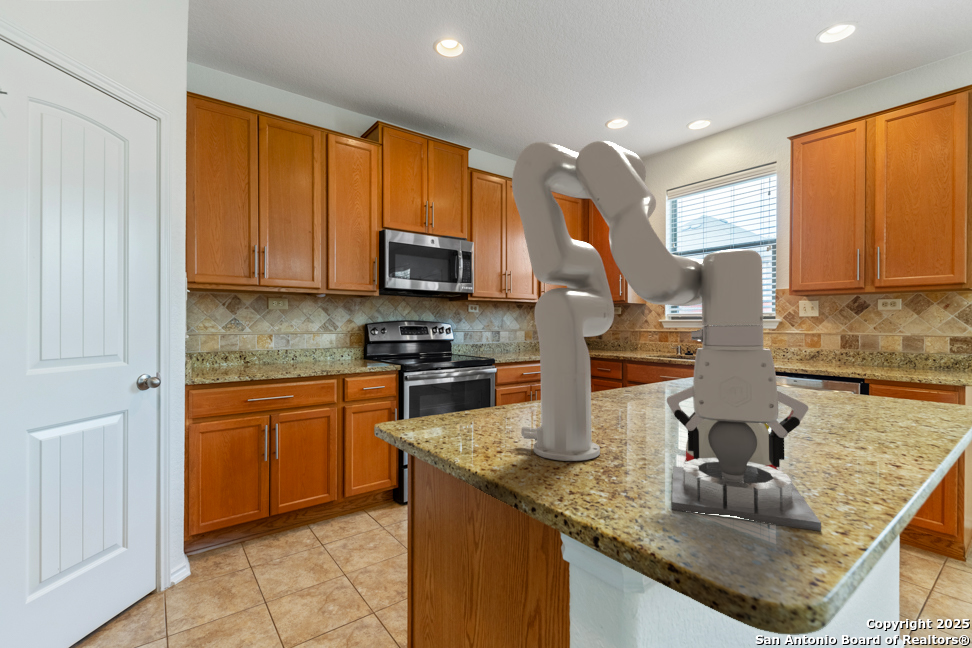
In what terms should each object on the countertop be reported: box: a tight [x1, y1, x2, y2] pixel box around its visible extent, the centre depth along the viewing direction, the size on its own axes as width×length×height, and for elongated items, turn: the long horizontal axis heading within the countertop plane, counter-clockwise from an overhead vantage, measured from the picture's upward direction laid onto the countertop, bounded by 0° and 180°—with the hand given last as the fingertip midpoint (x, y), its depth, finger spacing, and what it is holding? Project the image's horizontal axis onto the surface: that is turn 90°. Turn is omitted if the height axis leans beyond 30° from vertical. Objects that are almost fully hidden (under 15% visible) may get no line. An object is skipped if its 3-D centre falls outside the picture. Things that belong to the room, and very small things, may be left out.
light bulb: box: [708, 421, 757, 483], centre depth 61 cm, size 6×6×10 cm
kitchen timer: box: [685, 419, 778, 470], centre depth 77 cm, size 14×14×15 cm
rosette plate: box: [671, 458, 822, 532], centre depth 61 cm, size 16×16×4 cm
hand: (733, 460), depth 62 cm, fingers open, 9 cm apart
